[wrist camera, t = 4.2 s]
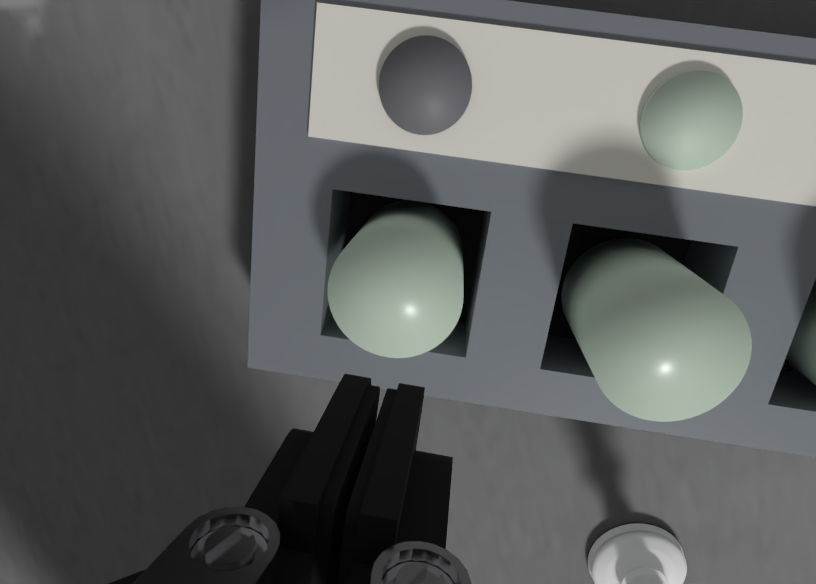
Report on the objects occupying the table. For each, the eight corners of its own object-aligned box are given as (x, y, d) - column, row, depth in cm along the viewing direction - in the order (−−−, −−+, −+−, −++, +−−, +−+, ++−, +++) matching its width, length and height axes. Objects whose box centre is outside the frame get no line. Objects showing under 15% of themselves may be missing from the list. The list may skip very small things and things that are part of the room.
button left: (471, 208, 25) (473, 239, 19) (454, 310, 26) (452, 367, 20) (362, 193, 25) (333, 218, 19) (352, 295, 26) (322, 347, 21)
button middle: (695, 247, 23) (774, 295, 17) (662, 355, 24) (724, 432, 18) (575, 230, 23) (612, 271, 17) (550, 338, 24) (577, 409, 19)
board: (1068, 89, 21) (1219, 85, 17) (906, 429, 26) (992, 492, 22) (295, -8, 23) (256, -34, 19) (276, 331, 28) (243, 373, 23)
